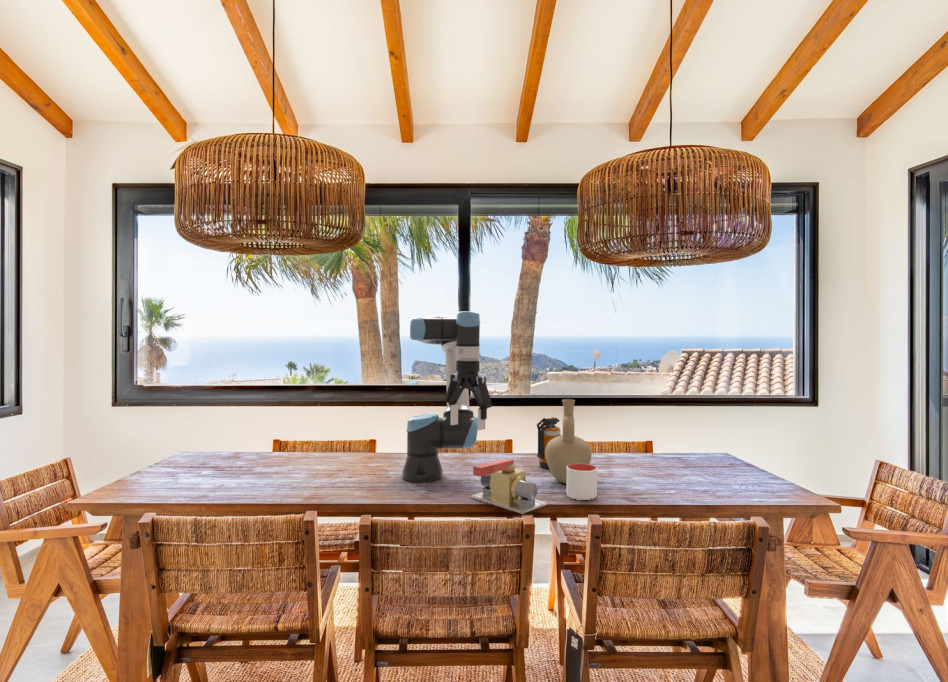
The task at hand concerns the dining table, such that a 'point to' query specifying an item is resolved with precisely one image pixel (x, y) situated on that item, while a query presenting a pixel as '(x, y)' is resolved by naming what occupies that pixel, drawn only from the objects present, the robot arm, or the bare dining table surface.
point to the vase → (566, 447)
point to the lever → (494, 467)
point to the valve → (510, 491)
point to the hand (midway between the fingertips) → (467, 427)
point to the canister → (546, 437)
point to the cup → (581, 481)
